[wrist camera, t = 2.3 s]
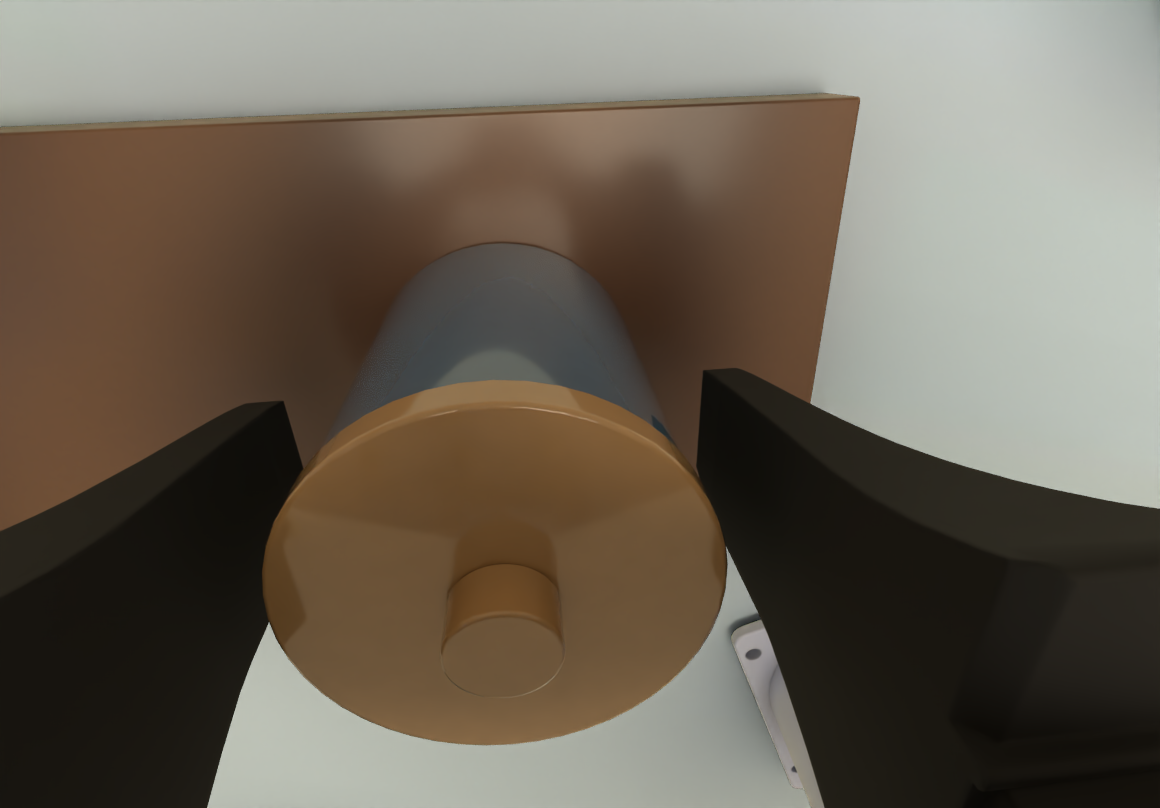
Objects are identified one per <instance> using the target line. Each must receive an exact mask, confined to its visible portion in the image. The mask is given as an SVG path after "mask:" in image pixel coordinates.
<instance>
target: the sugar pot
mask: <svg viewBox="0 0 1160 808" xmlns="http://www.w3.org/2000/svg"><path fill="white" fill-rule="evenodd" d="M727 565H728V564H727V554H726V543H725V539H724V536H723V532H722V528H721V525H720V521H719V519H718V516H717V514H716V512H715V510H714V508H713V505H712V503H711V501H710V499H709V497H708V494H707V492H706V490H705V488H704V486H703V484H702V482H701V480H700V478H699V476H698V474H697V473H696V472H695V470H694V469H693V467H692V466H691V464H690V463H689V461H688V460H687V459H686V457H685V456H684V455H683V454H682V453H681V452H680V450H679V447H678V445H677V443H676V440H675V438H674V436H673V433H672V431H671V429H670V426H669V424H668V422H667V419H666V417H665V415H664V412H663V410H662V408H661V405H660V403H659V401H658V398H657V396H656V394H655V391H654V389H653V387H652V384H651V382H650V380H649V378H648V375H647V373H646V371H645V368H644V366H643V364H642V361H641V359H640V357H639V354H638V352H637V350H636V347H635V345H634V343H633V340H632V338H631V336H630V333H629V331H628V329H627V326H626V324H625V322H624V320H623V317H622V315H621V313H620V311H619V309H618V307H617V305H616V304H615V302H614V301H613V299H612V298H611V296H610V295H609V293H608V292H607V291H606V290H605V289H604V288H603V287H602V285H601V284H600V283H599V282H598V281H597V280H596V279H595V278H594V277H592V276H591V275H590V274H589V273H588V272H587V271H585V270H584V269H583V268H581V267H579V266H578V265H576V264H575V263H573V262H572V261H570V260H568V259H566V258H564V257H562V256H560V255H558V254H555V253H553V252H550V251H547V250H544V249H541V248H538V247H532V246H527V245H522V244H509V243H496V244H483V245H478V246H473V247H469V248H464V249H461V250H459V251H456V252H453V253H450V254H448V255H446V256H444V257H442V258H440V259H438V260H436V261H434V262H432V263H431V264H429V265H428V266H426V267H425V268H424V269H422V270H421V271H419V272H418V273H417V274H416V275H415V276H414V277H413V278H412V279H411V280H410V281H408V282H407V283H406V284H405V286H404V287H403V288H402V289H401V291H400V292H399V293H398V295H397V296H396V297H395V299H394V300H393V302H392V304H391V306H390V307H389V309H388V311H387V313H386V315H385V317H384V319H383V321H382V323H381V325H380V327H379V329H378V331H377V333H376V335H375V337H374V339H373V342H372V344H371V346H370V348H369V350H368V352H367V354H366V356H365V358H364V360H363V362H362V364H361V366H360V368H359V370H358V372H357V374H356V376H355V378H354V380H353V382H352V385H351V387H350V389H349V391H348V393H347V395H346V397H345V399H344V401H343V403H342V405H341V407H340V409H339V411H338V413H337V415H336V417H335V419H334V421H333V423H332V425H331V428H330V430H329V432H328V434H327V436H326V438H325V440H324V442H323V444H322V446H321V448H320V450H319V451H318V452H317V453H316V454H315V455H314V457H313V458H312V459H311V460H310V461H309V463H308V464H307V465H306V466H305V468H304V469H303V470H302V471H301V472H300V474H299V476H298V477H297V479H296V481H295V483H294V484H293V486H292V488H291V490H290V491H289V493H288V495H287V497H286V499H285V501H284V503H283V504H282V506H281V508H280V510H279V512H278V514H277V516H276V518H275V520H274V523H273V525H272V528H271V531H270V534H269V537H268V539H267V542H266V545H265V552H264V558H263V564H262V593H263V599H264V603H265V608H266V612H267V617H268V620H269V623H270V625H271V627H272V630H273V632H274V635H275V637H276V639H277V641H278V643H279V644H280V646H281V648H282V649H283V651H284V652H285V654H286V656H287V657H288V659H289V660H290V661H291V663H292V664H293V665H294V666H295V667H296V668H297V670H298V671H299V672H300V673H301V674H302V676H303V677H304V678H305V679H306V680H308V681H309V682H310V683H311V684H312V685H313V686H314V687H315V688H317V689H318V690H319V691H320V692H321V693H322V694H324V695H325V696H326V697H328V698H329V699H331V700H332V701H334V702H335V703H337V704H338V705H339V706H341V707H342V708H344V709H346V710H348V711H350V712H352V713H354V714H355V715H357V716H359V717H361V718H363V719H365V720H367V721H370V722H372V723H375V724H377V725H379V726H382V727H384V728H387V729H390V730H393V731H396V732H400V733H403V734H406V735H410V736H414V737H418V738H423V739H428V740H433V741H438V742H447V743H455V744H466V745H507V744H519V743H527V742H535V741H541V740H546V739H551V738H555V737H560V736H564V735H568V734H571V733H575V732H578V731H581V730H585V729H588V728H590V727H593V726H595V725H598V724H601V723H603V722H606V721H608V720H611V719H613V718H615V717H617V716H619V715H621V714H623V713H625V712H627V711H629V710H631V709H632V708H634V707H636V706H637V705H639V704H640V703H642V702H644V701H645V700H647V699H648V698H650V697H652V696H653V695H654V694H655V693H657V692H658V691H659V690H661V689H662V688H663V687H664V686H666V685H667V684H668V683H670V682H671V681H672V680H673V679H674V678H675V677H676V676H677V675H678V674H679V673H680V672H681V671H682V670H683V669H684V668H685V667H686V666H687V665H688V664H689V662H690V661H691V660H692V659H693V657H694V656H695V655H696V654H697V652H698V651H699V650H700V649H701V647H702V645H703V644H704V642H705V640H706V639H707V637H708V635H709V634H710V632H711V630H712V628H713V626H714V624H715V621H716V619H717V616H718V614H719V612H720V609H721V605H722V601H723V597H724V593H725V588H726V578H727Z"/></svg>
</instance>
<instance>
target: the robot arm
mask: <svg viewBox="0 0 1160 808" xmlns="http://www.w3.org/2000/svg"><path fill="white" fill-rule="evenodd" d="M696 468H697V471H698V474H699V478H700V480H701V482H702V484H703V486H704V488H705V490H706V492H707V494H708V497H709V499H710V501H711V503H712V505H713V508H714V510H715V512H716V514H717V516H718V519H719V521H720V525H721V528H722V532H723V536H724V539H725V543H726V547H727V549H728V551H729V553H730V555H731V557H732V559H733V561H734V563H735V565H736V568H737V570H738V572H739V574H740V576H741V578H742V580H743V582H744V584H745V586H746V588H747V590H748V592H749V595H750V597H751V599H752V601H753V603H754V605H755V607H756V609H757V611H758V613H759V616H760V618H761V620H758V621H755V622H752V623H749V624H747V625H744V626H741V627H739V628H737V629H736V630H735V631H734V632H733V634H732V636H731V641H732V644H733V647H734V649H735V652H736V654H737V656H738V659H739V661H740V664H741V666H742V669H743V671H744V673H745V676H746V678H747V681H748V683H749V685H750V688H751V690H752V693H753V695H754V698H755V700H756V702H757V705H758V707H759V710H760V712H761V714H762V717H763V719H764V722H765V724H766V727H767V729H768V731H769V734H770V736H771V739H772V741H773V744H774V746H775V748H776V751H777V753H778V756H779V758H780V760H781V763H782V765H783V768H784V770H785V773H786V775H787V777H788V780H789V782H790V785H791V786H792V787H794V788H797V789H803V788H804V791H805V793H806V795H807V798H808V800H809V803H810V805H811V808H1160V509H1157V508H1150V507H1143V506H1137V505H1130V504H1124V503H1118V502H1112V501H1107V500H1102V499H1097V498H1092V497H1087V496H1082V495H1078V494H1073V493H1068V492H1063V491H1058V490H1053V489H1049V488H1045V487H1040V486H1036V485H1032V484H1028V483H1024V482H1019V481H1015V480H1011V479H1008V478H1004V477H1001V476H997V475H993V474H990V473H986V472H983V471H979V470H975V469H972V468H968V467H965V466H962V465H958V464H955V463H952V462H949V461H946V460H942V459H939V458H937V457H934V456H931V455H928V454H925V453H923V452H920V451H917V450H914V449H911V448H909V447H906V446H903V445H900V444H898V443H895V442H893V441H890V440H888V439H885V438H883V437H880V436H878V435H875V434H873V433H871V432H869V431H866V430H864V429H862V428H860V427H857V426H855V425H853V424H851V423H849V422H846V421H844V420H842V419H840V418H838V417H836V416H834V415H832V414H830V413H827V412H825V411H823V410H821V409H819V408H817V407H815V406H813V405H812V404H810V403H808V402H806V401H804V400H802V399H800V398H798V397H796V396H794V395H792V394H790V393H788V392H787V391H785V390H783V389H781V388H779V387H777V386H775V385H773V384H771V383H769V382H768V381H766V380H764V379H762V378H760V377H758V376H756V375H754V374H751V373H749V372H747V371H745V370H742V369H739V368H726V369H712V370H703V376H702V391H701V405H700V419H699V433H698V448H697V462H696ZM303 469H304V468H303V465H302V461H301V458H300V455H299V451H298V448H297V444H296V441H295V438H294V434H293V431H292V428H291V424H290V421H289V417H288V414H287V411H286V407H285V404H284V401H270V402H256V403H246V404H243V405H241V406H238V407H236V408H234V409H231V410H229V411H227V412H225V413H223V414H222V415H220V416H218V417H216V418H214V419H212V420H210V421H209V422H207V423H205V424H203V425H202V426H200V427H198V428H196V429H195V430H193V431H191V432H189V433H188V434H186V435H184V436H182V437H181V438H179V439H177V440H176V441H174V442H172V443H170V444H169V445H167V446H165V447H163V448H162V449H160V450H158V451H157V452H155V453H153V454H151V455H150V456H148V457H146V458H144V459H143V460H141V461H139V462H137V463H136V464H134V465H132V466H130V467H128V468H126V469H124V470H123V471H121V472H119V473H117V474H115V475H113V476H111V477H110V478H108V479H106V480H104V481H102V482H100V483H98V484H97V485H95V486H93V487H91V488H89V489H87V490H85V491H84V492H82V493H80V494H78V495H76V496H74V497H72V498H70V499H68V500H66V501H64V502H62V503H60V504H58V505H56V506H54V507H52V508H50V509H48V510H46V511H44V512H42V513H39V514H37V515H35V516H33V517H31V518H28V519H26V520H24V521H22V522H20V523H17V524H15V525H13V526H11V527H9V528H6V529H4V530H2V531H0V808H207V806H208V802H209V798H210V795H211V791H212V787H213V784H214V780H215V776H216V773H217V769H218V765H219V762H220V758H221V754H222V751H223V747H224V744H225V741H226V738H227V734H228V731H229V728H230V724H231V721H232V718H233V714H234V711H235V708H236V705H237V701H238V698H239V695H240V692H241V689H242V686H243V683H244V681H245V678H246V676H247V673H248V670H249V668H250V665H251V662H252V660H253V658H254V655H255V653H256V651H257V648H258V646H259V644H260V641H261V639H262V637H263V635H264V632H265V630H266V628H267V625H268V623H269V620H268V617H267V612H266V608H265V603H264V599H263V593H262V564H263V558H264V552H265V545H266V542H267V539H268V537H269V534H270V531H271V528H272V525H273V523H274V520H275V518H276V516H277V514H278V512H279V510H280V508H281V506H282V504H283V503H284V501H285V499H286V497H287V495H288V493H289V491H290V490H291V488H292V486H293V484H294V483H295V481H296V479H297V477H298V476H299V474H300V472H301V471H302V470H303Z"/></svg>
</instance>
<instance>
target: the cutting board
mask: <svg viewBox="0 0 1160 808" xmlns="http://www.w3.org/2000/svg"><path fill="white" fill-rule="evenodd" d="M859 104H860V98H859V97H855V96H846V95H837V94H829V93H816V94H792V95H767V96H743V97H719V98H694V99H670V100H646V101H621V102H597V103H573V104H548V105H524V106H500V107H475V108H451V109H427V110H402V111H378V112H354V113H329V114H305V115H281V116H256V117H232V118H208V119H183V120H159V121H135V122H110V123H86V124H62V125H37V126H13V127H0V531H2V530H4V529H6V528H9V527H11V526H13V525H15V524H17V523H20V522H22V521H24V520H26V519H28V518H31V517H33V516H35V515H37V514H39V513H42V512H44V511H46V510H48V509H50V508H52V507H54V506H56V505H58V504H60V503H62V502H64V501H66V500H68V499H70V498H72V497H74V496H76V495H78V494H80V493H82V492H84V491H85V490H87V489H89V488H91V487H93V486H95V485H97V484H98V483H100V482H102V481H104V480H106V479H108V478H110V477H111V476H113V475H115V474H117V473H119V472H121V471H123V470H124V469H126V468H128V467H130V466H132V465H134V464H136V463H137V462H139V461H141V460H143V459H144V458H146V457H148V456H150V455H151V454H153V453H155V452H157V451H158V450H160V449H162V448H163V447H165V446H167V445H169V444H170V443H172V442H174V441H176V440H177V439H179V438H181V437H182V436H184V435H186V434H188V433H189V432H191V431H193V430H195V429H196V428H198V427H200V426H202V425H203V424H205V423H207V422H209V421H210V420H212V419H214V418H216V417H218V416H220V415H222V414H223V413H225V412H227V411H229V410H231V409H234V408H236V407H238V406H241V405H243V404H246V403H256V402H270V401H284V404H285V407H286V411H287V414H288V417H289V421H290V424H291V428H292V431H293V434H294V438H295V441H296V444H297V448H298V451H299V455H300V458H301V461H302V465H303V468H305V466H306V465H307V464H308V463H309V461H310V460H311V459H312V458H313V457H314V455H315V454H316V453H317V452H318V451H319V450H320V448H321V446H322V444H323V442H324V440H325V438H326V436H327V434H328V432H329V430H330V428H331V425H332V423H333V421H334V419H335V417H336V415H337V413H338V411H339V409H340V407H341V405H342V403H343V401H344V399H345V397H346V395H347V393H348V391H349V389H350V387H351V385H352V382H353V380H354V378H355V376H356V374H357V372H358V370H359V368H360V366H361V364H362V362H363V360H364V358H365V356H366V354H367V352H368V350H369V348H370V346H371V344H372V342H373V339H374V337H375V335H376V333H377V331H378V329H379V327H380V325H381V323H382V321H383V319H384V317H385V315H386V313H387V311H388V309H389V307H390V306H391V304H392V302H393V300H394V299H395V297H396V296H397V295H398V293H399V292H400V291H401V289H402V288H403V287H404V286H405V284H406V283H407V282H408V281H410V280H411V279H412V278H413V277H414V276H415V275H416V274H417V273H418V272H419V271H421V270H422V269H424V268H425V267H426V266H428V265H429V264H431V263H432V262H434V261H436V260H438V259H440V258H442V257H444V256H446V255H448V254H450V253H453V252H456V251H459V250H461V249H464V248H469V247H473V246H478V245H483V244H496V243H509V244H522V245H527V246H532V247H538V248H541V249H544V250H547V251H550V252H553V253H555V254H558V255H560V256H562V257H564V258H566V259H568V260H570V261H572V262H573V263H575V264H576V265H578V266H579V267H581V268H583V269H584V270H585V271H587V272H588V273H589V274H590V275H591V276H592V277H594V278H595V279H596V280H597V281H598V282H599V283H600V284H601V285H602V287H603V288H604V289H605V290H606V291H607V292H608V293H609V295H610V296H611V298H612V299H613V301H614V302H615V304H616V305H617V307H618V309H619V311H620V313H621V315H622V317H623V320H624V322H625V324H626V326H627V329H628V331H629V333H630V336H631V338H632V340H633V343H634V345H635V347H636V350H637V352H638V354H639V357H640V359H641V361H642V364H643V366H644V368H645V371H646V373H647V375H648V378H649V380H650V382H651V384H652V387H653V389H654V391H655V394H656V396H657V398H658V401H659V403H660V405H661V408H662V410H663V412H664V415H665V417H666V419H667V422H668V424H669V426H670V429H671V431H672V433H673V436H674V438H675V440H676V443H677V445H678V447H679V450H680V452H681V453H682V454H683V455H684V456H685V457H686V459H687V460H688V461H689V463H690V464H691V466H692V467H693V469H694V470H695V472H696V473H697V474H698V471H697V468H696V462H697V448H698V433H699V419H700V405H701V391H702V376H703V370H712V369H726V368H739V369H742V370H745V371H747V372H749V373H751V374H754V375H756V376H758V377H760V378H762V379H764V380H766V381H768V382H769V383H771V384H773V385H775V386H777V387H779V388H781V389H783V390H785V391H787V392H788V393H790V394H792V395H794V396H796V397H798V398H800V399H802V400H804V401H806V402H808V403H810V401H811V395H812V389H813V383H814V377H815V371H816V365H817V359H818V353H819V347H820V341H821V335H822V329H823V322H824V316H825V310H826V304H827V298H828V292H829V286H830V280H831V274H832V268H833V262H834V256H835V250H836V244H837V238H838V231H839V225H840V219H841V213H842V207H843V201H844V195H845V189H846V183H847V177H848V171H849V165H850V159H851V153H852V147H853V140H854V134H855V128H856V122H857V116H858V110H859ZM698 476H699V474H698Z"/></svg>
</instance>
